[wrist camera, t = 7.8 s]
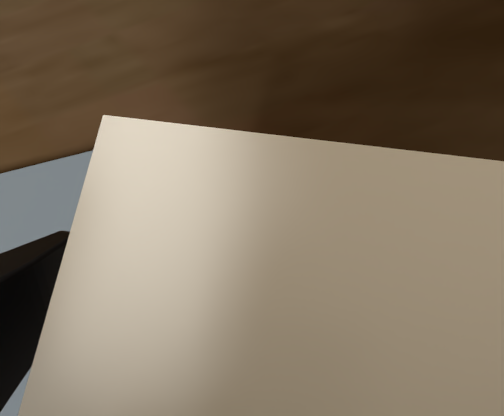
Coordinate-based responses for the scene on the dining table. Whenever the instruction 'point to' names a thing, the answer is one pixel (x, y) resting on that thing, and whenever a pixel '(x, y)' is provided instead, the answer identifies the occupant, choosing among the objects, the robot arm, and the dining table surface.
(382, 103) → the dining table surface
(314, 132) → the dining table surface
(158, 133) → the white rectangular block
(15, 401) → the mat
